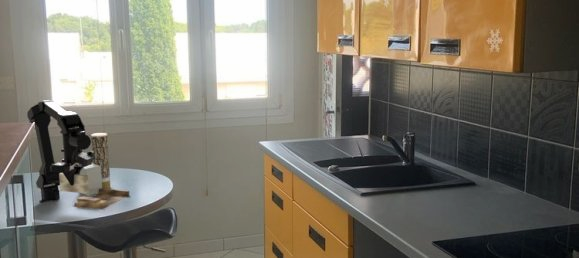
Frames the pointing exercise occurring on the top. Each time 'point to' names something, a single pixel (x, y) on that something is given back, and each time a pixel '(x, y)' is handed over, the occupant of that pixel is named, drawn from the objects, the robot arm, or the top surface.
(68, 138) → the robot arm
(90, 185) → the supplement box
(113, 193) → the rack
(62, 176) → the birch panel
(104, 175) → the log
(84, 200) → the offcut stack
